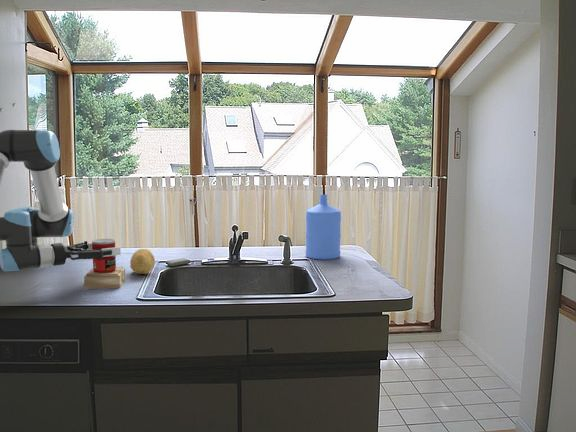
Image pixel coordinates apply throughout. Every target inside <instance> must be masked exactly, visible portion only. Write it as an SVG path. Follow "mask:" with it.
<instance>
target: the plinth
mask: <svg viewBox="0 0 576 432" xmlns="http://www.w3.org/2000/svg"><path fill="white" fill-rule="evenodd" d="M125 280H126V268H125V267H123V266H116V269H115V271H113V272H108V273H97V272H94V270H93V267H91V269H90V270H89V271H88V272H87V273H86V274H85V275H84V276H83V283H84V285H83V286H84V290H93V289H94V290H97V289H102V290H103V289H121V287H122V285H123V284H124V283H125Z"/></svg>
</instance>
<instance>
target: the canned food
mask: <svg viewBox="0 0 576 432" xmlns="http://www.w3.org/2000/svg"><path fill="white" fill-rule="evenodd" d="M91 243H92V250H101V249H106V248H114V247H116V240H115V239H113V238H97V239H93V240H92V242H91ZM98 255H99V253H98ZM116 256H117V255H115V256H107V257H103V259H102V260H100V259H92V268H93V270H94V272H97V273H108V272H113V271H115V269H116V267H117V263H116V262H117V260H116Z"/></svg>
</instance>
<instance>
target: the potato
mask: <svg viewBox="0 0 576 432" xmlns="http://www.w3.org/2000/svg"><path fill="white" fill-rule="evenodd" d="M129 264H130V269H131V270H132V272H133V273H136V274H138V275H144V274H145V275H147V274H149V273H150V272H151V271H153V269H154V268H155V264H156V260H155V256H154V254H153V252H152V251H151V249H148V248H140V249H138V250H135V252H134V253H133V254H132V256H131V258H130V263H129Z"/></svg>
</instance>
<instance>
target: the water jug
mask: <svg viewBox="0 0 576 432" xmlns="http://www.w3.org/2000/svg"><path fill="white" fill-rule="evenodd" d="M319 197H320V198H319V200H320V201H319V204H317V205H314V206H313V207H311V208H309V209H307V210H306V214H305V221H306V222H305V224H306V225H305V227H306V228H305V256H306V257H307V258H309V259H312V260H319V261H320V260H322V261H323V260H324V261H325V260H329V261H330V260H335V259H338V258H339V257H340V256H341V234H342V233H341V219H342V215H341V214H342V213H341V210H340V209H338V208H336V207H334V206H332V205H330V204H329V203H328V194H319Z"/></svg>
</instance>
